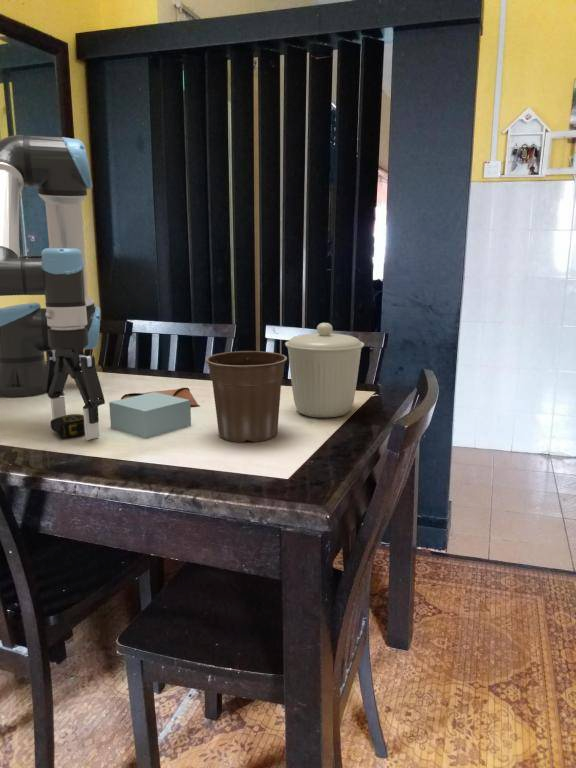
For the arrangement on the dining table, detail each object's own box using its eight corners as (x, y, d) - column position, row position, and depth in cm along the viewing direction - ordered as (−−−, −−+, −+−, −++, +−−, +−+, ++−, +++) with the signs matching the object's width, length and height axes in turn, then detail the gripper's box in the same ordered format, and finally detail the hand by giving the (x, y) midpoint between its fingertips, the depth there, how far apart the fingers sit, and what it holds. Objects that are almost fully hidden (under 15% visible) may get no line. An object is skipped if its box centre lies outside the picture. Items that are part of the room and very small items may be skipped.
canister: (335, 427, 127) (336, 329, 123) (269, 414, 138) (268, 323, 133) (376, 410, 141) (379, 322, 137) (313, 399, 152) (314, 317, 148)
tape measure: (50, 433, 124) (49, 416, 123) (84, 428, 127) (82, 411, 127) (58, 442, 118) (57, 424, 117) (93, 436, 122) (92, 418, 121)
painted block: (111, 429, 127) (109, 402, 126) (155, 417, 136) (154, 392, 135) (146, 440, 120) (144, 411, 119) (191, 426, 129) (190, 400, 128)
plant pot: (257, 452, 112) (256, 367, 108) (191, 438, 120) (188, 359, 117) (301, 430, 125) (301, 355, 122) (239, 419, 134) (238, 348, 130)
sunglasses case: (130, 416, 136) (124, 388, 138) (123, 424, 142) (118, 398, 144) (203, 406, 146) (197, 380, 147) (193, 414, 151) (188, 390, 153)
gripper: (19, 324, 123) (29, 426, 127) (84, 334, 108) (92, 448, 113) (53, 321, 129) (61, 419, 133) (119, 330, 114) (125, 439, 119)
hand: (75, 432), depth 123 cm, fingers open, 11 cm apart
